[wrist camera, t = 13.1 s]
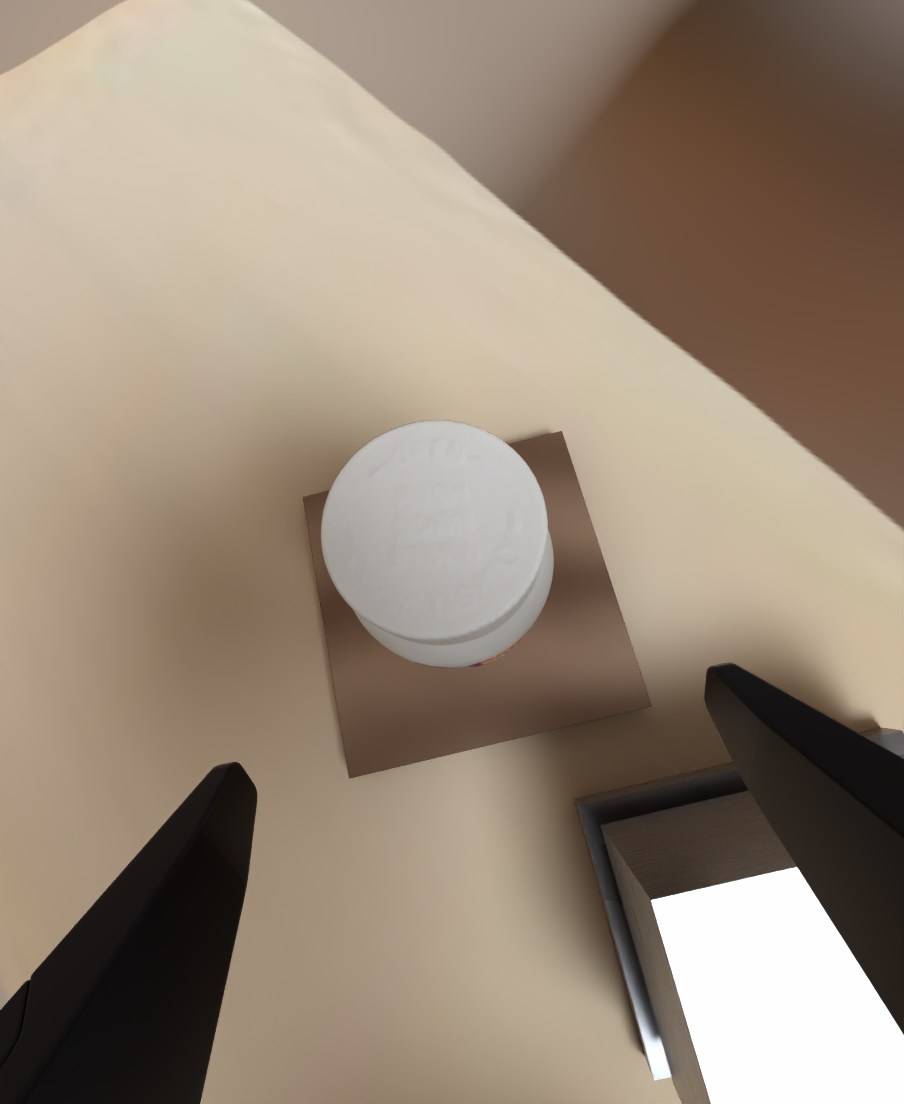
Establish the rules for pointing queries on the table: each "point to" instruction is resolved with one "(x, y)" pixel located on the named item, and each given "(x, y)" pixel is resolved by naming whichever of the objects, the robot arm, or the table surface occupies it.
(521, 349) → the table surface
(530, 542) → the pill bottle
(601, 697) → the plate
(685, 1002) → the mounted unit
